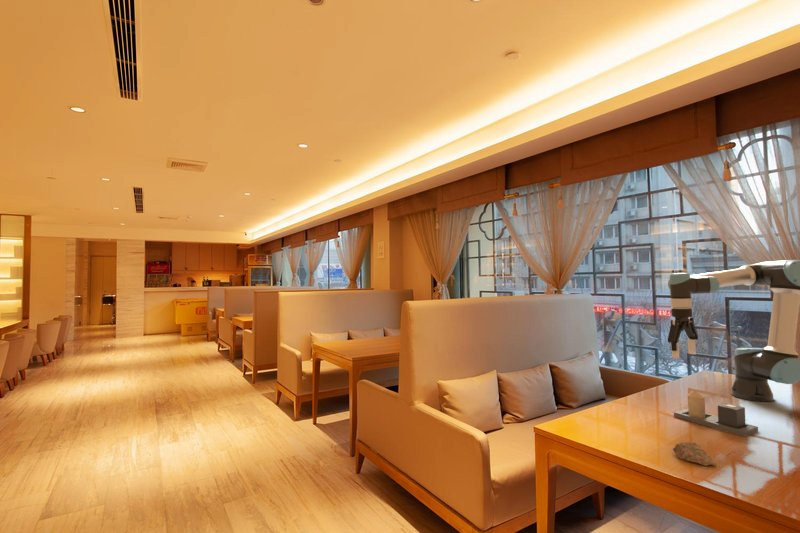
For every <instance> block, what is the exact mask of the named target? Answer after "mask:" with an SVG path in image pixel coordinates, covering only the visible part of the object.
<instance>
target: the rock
mask: <svg viewBox="0 0 800 533" xmlns="http://www.w3.org/2000/svg"><path fill="white" fill-rule="evenodd" d="M672 451H673V452H674V454H675V456H676V458H677V459H679V460H683V461H687V462H690V463H695V464H696V463H697V464H700V465H701V466H706V467H707V466H715V465H716V461H715V459H714V457H713V456H711V455H710V454H708V453H707V452H706V451H705V449H704V448H702V447H701V446H700V445H699V444H698V443H696V442H680V443H676V444H675V446H674V448H673V449H672Z"/></svg>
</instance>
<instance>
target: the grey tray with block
mask: <svg viewBox="0 0 800 533" xmlns="http://www.w3.org/2000/svg"><path fill="white" fill-rule="evenodd" d="M673 417H674V418H677V419H681V420H685V421H687V422H692V423H695V424H698V425H702V426H705V427H708V428H713V429H717V430H720V431H723V432H726V433H731V434H733V435H736V436H741V437H747V436H750V435H753V434H755V433H758V432H759V426H758V425H753V424H749V423H746V408H745V407H744V406H740V405H737V404H732V403H728V402H726V403H721V404H717V415H716V414H715V415H714V414H710V413H707V412H705V418H703V419H700V418H697V417H693V416H689V412H688V407H687V408H684V409H680V410H677V411H674V412H673Z"/></svg>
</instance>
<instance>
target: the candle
mask: <svg viewBox="0 0 800 533" xmlns="http://www.w3.org/2000/svg"><path fill="white" fill-rule="evenodd" d="M705 398H706V397H705V396H704V395H703V394H702V393H701V392H698V391H691V392H690V393H688V394H687V408H688V412H689V416H693V417H697V418H700V419H703V418H705V413H706V402H705V401H706V400H705Z"/></svg>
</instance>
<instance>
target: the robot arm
mask: <svg viewBox="0 0 800 533" xmlns="http://www.w3.org/2000/svg"><path fill="white" fill-rule="evenodd" d="M739 285H744V286H766V287H767V286H768V287H769V290H771V292H773V298H772V304H771V305H772V306H771V313H770V323H769V330H768V338H767V339H768V340H767V345H766V346H764V347H737V348H736V349H735V350H734V355H733V358H734V360H733V361H734V374H735V378H734V380H733V384H732V386H731V389H730V390H731V391H730V392H731V393H730V394H731V395H732V396H734V397H736V398H738V399H743V400H748V401H754V402H772V401H774V394H773V392H772V388H771V387H770V385H769V382H768V380H769V381H773V382H776V383H777V384H778V383H779V384H785V385H793V384H796V383H797V382H799V381H800V360H799V354H798V352H797V351H796V350H795V345H796V336H797V326H798V320H799V319H798V318H799V311H800V259H785V260H782V259H781V260H766V261H762V262H757V263H752V264H747V265H742V266H740V267H739V268H734V269H728V270H727V269H726V270H721V271H712V272H705V273H699V274H698V273H697V274H690V273H688V272H677V273H676V272H675V273H673V272H672V273H671V274H670V275H669V280H668V282H667V287H668V289H669V293H670V301H669V302H670V306H671V310H670V311H671V317H672V318H675V319H671V320H670V328H669V332H668V337H667V342H668V343H669V344H671V346H670V347H671V349H670V350H671V359H680V343H679V339H680V337H681V334H682V332H683V331H684V332H685V334H686V336H687V353H688V354H689V355H697V350H696V346H697V345H696V340H698V339H699V334H698V332H697V329H696V326H695V324H694V318H693V309H692V307H693V305H692V304H693V302H692V295H694V294H695V295H697V294H698V295H699V294H702V295H703V294H714V293H717V292H718V291H719V289H720V288H725V287H733V286H739Z"/></svg>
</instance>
